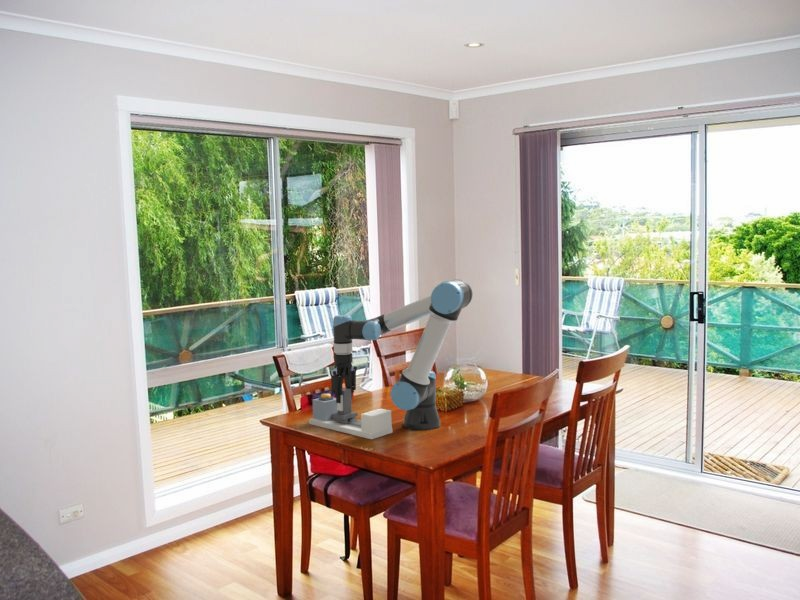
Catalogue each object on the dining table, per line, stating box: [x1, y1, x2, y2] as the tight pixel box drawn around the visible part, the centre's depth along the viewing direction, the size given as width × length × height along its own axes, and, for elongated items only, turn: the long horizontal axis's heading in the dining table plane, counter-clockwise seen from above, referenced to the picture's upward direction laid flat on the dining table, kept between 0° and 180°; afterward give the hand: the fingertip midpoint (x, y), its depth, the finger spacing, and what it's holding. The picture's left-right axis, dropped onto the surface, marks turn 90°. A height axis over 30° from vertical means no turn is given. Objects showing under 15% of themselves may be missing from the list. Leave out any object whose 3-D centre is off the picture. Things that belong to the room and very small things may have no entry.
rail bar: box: [331, 415, 361, 427], centre depth 295 cm, size 22×2×2 cm, turn 49°
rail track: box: [308, 408, 394, 440], centre depth 296 cm, size 36×12×9 cm, turn 49°
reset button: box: [318, 393, 334, 401], centre depth 304 cm, size 4×4×5 cm
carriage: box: [332, 387, 359, 424], centre depth 297 cm, size 7×8×13 cm
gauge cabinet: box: [312, 397, 338, 421], centre depth 305 cm, size 8×8×8 cm
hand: (344, 409), depth 297 cm, fingers closed on carriage, 4 cm apart
